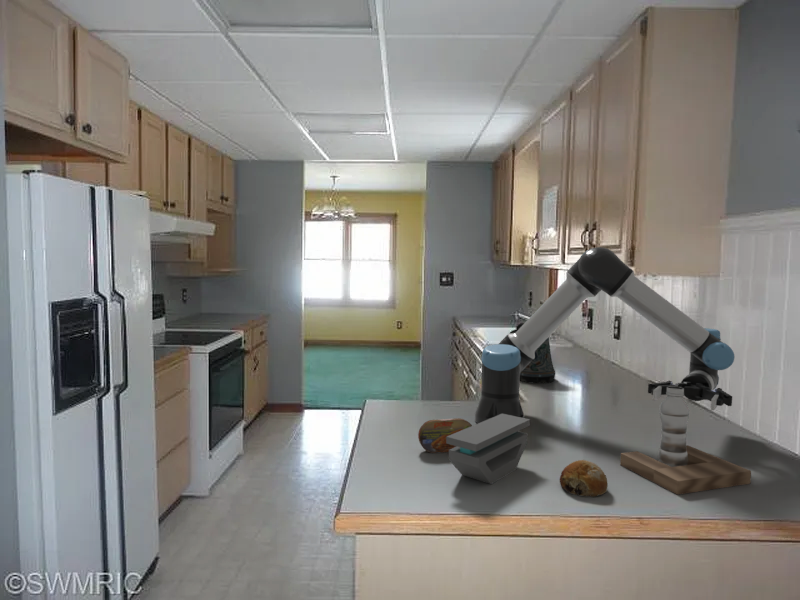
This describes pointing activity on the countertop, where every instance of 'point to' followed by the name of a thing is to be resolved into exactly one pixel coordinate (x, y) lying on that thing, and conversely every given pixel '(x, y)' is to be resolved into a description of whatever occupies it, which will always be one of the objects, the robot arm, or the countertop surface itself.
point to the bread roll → (583, 479)
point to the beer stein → (538, 364)
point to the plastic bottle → (673, 428)
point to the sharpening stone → (489, 447)
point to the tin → (440, 433)
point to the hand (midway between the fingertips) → (682, 400)
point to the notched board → (688, 472)
